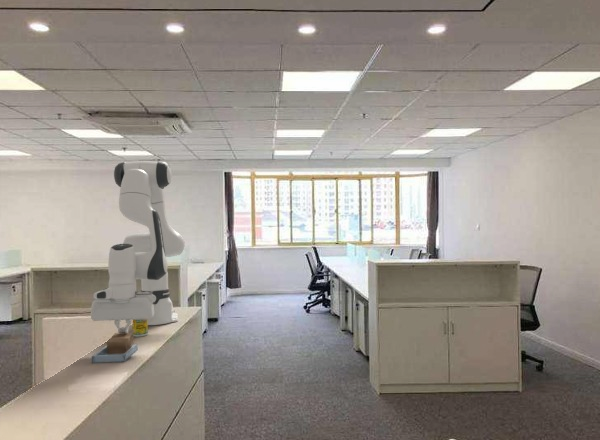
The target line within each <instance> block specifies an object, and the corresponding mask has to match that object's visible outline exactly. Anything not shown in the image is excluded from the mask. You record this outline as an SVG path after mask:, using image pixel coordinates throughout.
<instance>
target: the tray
mask: <svg viewBox="0 0 600 440" xmlns="http://www.w3.org/2000/svg"><path fill="white" fill-rule="evenodd" d="M137 351H139V348H138V344H136V343H134V344H133V346H132V347H131V348H130V349H129V350H128V351H127V352H125V353H124V354H107V344H106V345H105V346H104V347H102V348H101V349H100V350H98V351H96V352H95V353H94V354H93V355H92V356H91V364H99V363H101V364H102V363H104V364H105V363H123V362H126V361H127V360H129V359H130V357H132V356H133V355H134V354H135V353H136V352H137Z"/></svg>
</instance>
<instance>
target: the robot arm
mask: <svg viewBox="0 0 600 440" xmlns="http://www.w3.org/2000/svg"><path fill="white" fill-rule="evenodd" d="M172 175H173V174H172V169H171V167H170V165H169V164H168V163H167V162H165V161H160V160H158V161H154V160H153V161H152V160H140V161H139V160H138V161H130V162H127V161H124V162H120V163H118V164H117V165H116V166H115V167H114V171H113V177H114V183H115V184H116V185H117V186H118V187H119V196H118V208H119V211H120V214H122V215H123V216H124V217H125V218H126V219H128V220H130V221H131V222H133V223H137V224H140V225H142V226H145V227H147V228H148V231H149V232H145V231H144V232H135V233H130V234H128V235H127V236H126V237H125V238H124V240H123V243H119V244H118V243H117V244H113V245H112V246H111V247H110V249H109V253H108V264H107V265H108V268H107V271H108V275H109V279H108V287H106V288H105V287H104V289H101V290H99V291H96V292H94V293H93V299H94V300H93V301H92V302H91V306H90V307H91V308H90V318H91V320H92V321H93V322H95V321H97V322H98V321H113V322H114V325H115V327H116V328H117V333H129V327H130V325H131V323H133V320H135V319H147V320H148V326H158V325H165V324H169V323H176V322H178V321H179V316H178V315H179V314H178V313H177V312H175V310H174V307H173V302H172V300H171V298H170V288H169V273H168V268H169V267H168V266H169V265H168V260H167V259H168V258H171V257H177V256H180V255H181V254H182V253H183V251H184V249H185V243H186V242H185V239H184V237H183V236H182V234H180V233H179V232H178V231H176V230H175V229H174V228H173V227H172V226H171V224H170V222H169V221H168V218H167V213H166V206H165V195H164V188H166V187H168V186H169V185H170V184H171V180H172ZM137 280H140V282H141V283H140V284H141V290H140V291H137ZM121 321H125V323H126V325H125V326H122V325H121Z"/></svg>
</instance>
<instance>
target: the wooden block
mask: <svg viewBox="0 0 600 440" xmlns="http://www.w3.org/2000/svg"><path fill="white" fill-rule="evenodd" d="M106 345H107V354H124V353H125V352H127V351H128V350H129V349H130V348H131V347H132V346H133V345H135V343H134V336H133V332H128V333H118V332H116V333H115V332H114V334H112V336H111V337H110V338H109V339H108V340H107V342H106Z"/></svg>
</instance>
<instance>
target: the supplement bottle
mask: <svg viewBox="0 0 600 440" xmlns="http://www.w3.org/2000/svg"><path fill="white" fill-rule="evenodd" d="M148 326H149V325H148V320H147V319H135V320H132V333H133V337H135V338H136V337H137V338H139V337H145V336H147V335H148V334H149V329H148Z"/></svg>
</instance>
